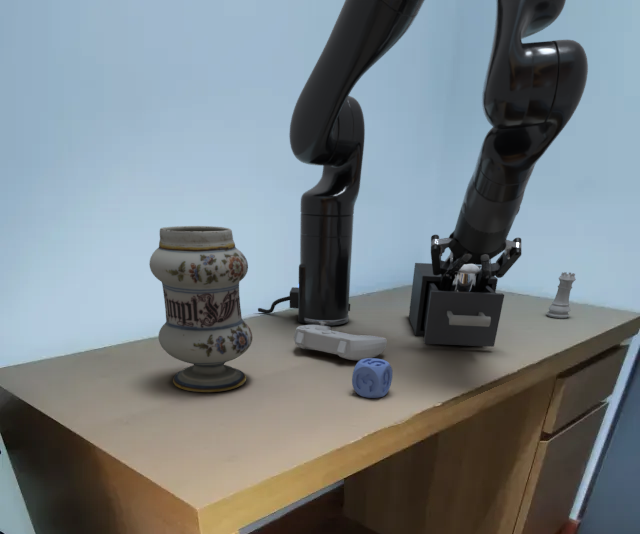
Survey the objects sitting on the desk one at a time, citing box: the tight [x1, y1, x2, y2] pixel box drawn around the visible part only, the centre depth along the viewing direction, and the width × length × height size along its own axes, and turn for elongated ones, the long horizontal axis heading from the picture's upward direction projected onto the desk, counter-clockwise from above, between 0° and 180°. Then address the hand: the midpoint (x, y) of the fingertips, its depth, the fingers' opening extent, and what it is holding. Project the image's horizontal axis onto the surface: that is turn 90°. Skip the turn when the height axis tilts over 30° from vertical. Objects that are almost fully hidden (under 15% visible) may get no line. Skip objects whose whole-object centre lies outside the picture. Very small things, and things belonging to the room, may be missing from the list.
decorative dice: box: [351, 357, 393, 399], centre depth 74 cm, size 4×4×4 cm
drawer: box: [421, 281, 505, 348], centre depth 94 cm, size 19×11×8 cm, turn 177°
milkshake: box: [450, 264, 482, 292], centre depth 93 cm, size 4×5×10 cm
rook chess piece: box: [546, 271, 576, 320], centre depth 115 cm, size 4×4×8 cm
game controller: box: [293, 322, 388, 362], centre depth 89 cm, size 14×4×10 cm
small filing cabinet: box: [408, 262, 499, 337], centre depth 104 cm, size 15×13×10 cm
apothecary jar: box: [148, 225, 253, 393], centre depth 72 cm, size 12×12×18 cm
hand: (461, 287), depth 94 cm, fingers closed on milkshake, 4 cm apart
